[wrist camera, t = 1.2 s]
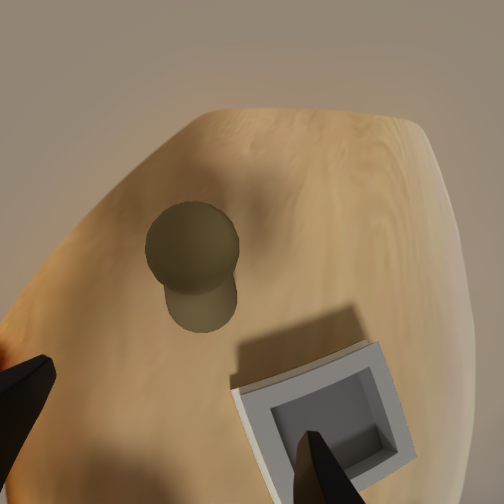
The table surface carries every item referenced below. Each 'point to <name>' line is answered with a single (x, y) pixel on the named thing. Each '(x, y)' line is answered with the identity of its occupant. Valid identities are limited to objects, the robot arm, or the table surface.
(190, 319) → the cork
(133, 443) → the table surface
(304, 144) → the table surface
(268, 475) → the socket plate
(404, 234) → the table surface
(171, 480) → the table surface
